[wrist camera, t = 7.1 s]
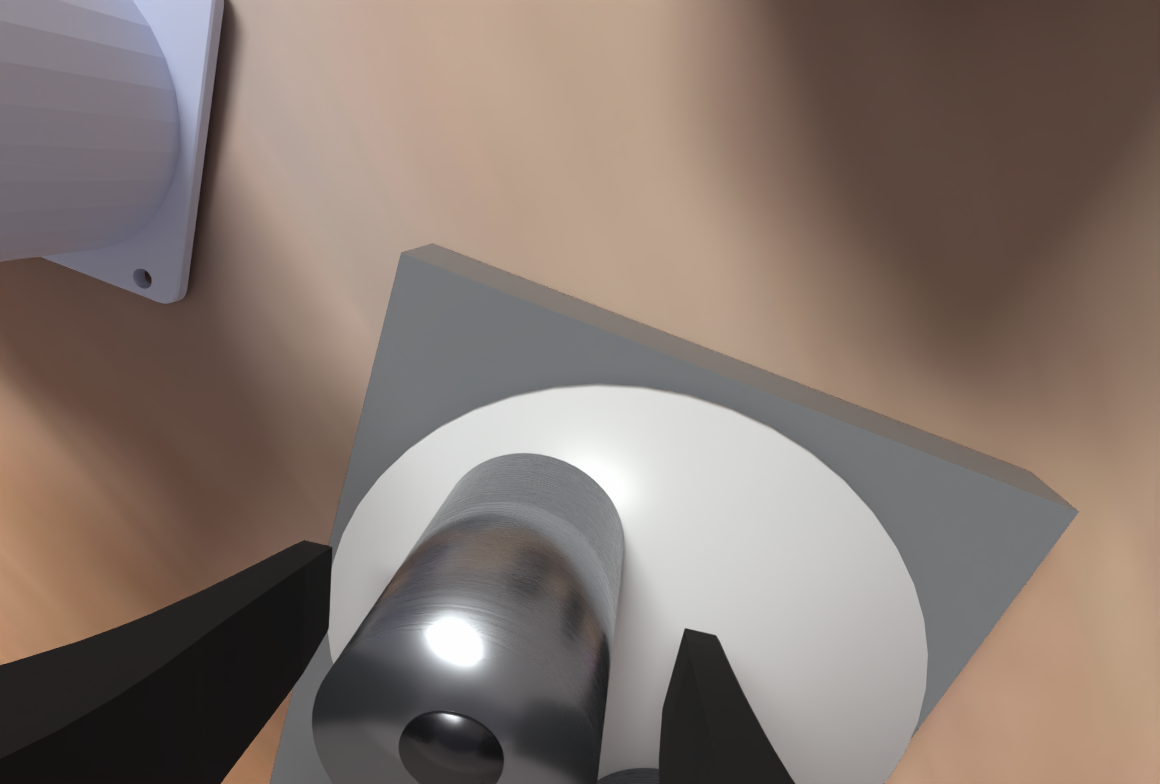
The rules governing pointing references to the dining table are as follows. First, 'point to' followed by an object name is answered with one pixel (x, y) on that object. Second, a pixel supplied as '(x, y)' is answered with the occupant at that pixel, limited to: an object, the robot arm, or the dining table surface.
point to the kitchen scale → (690, 516)
